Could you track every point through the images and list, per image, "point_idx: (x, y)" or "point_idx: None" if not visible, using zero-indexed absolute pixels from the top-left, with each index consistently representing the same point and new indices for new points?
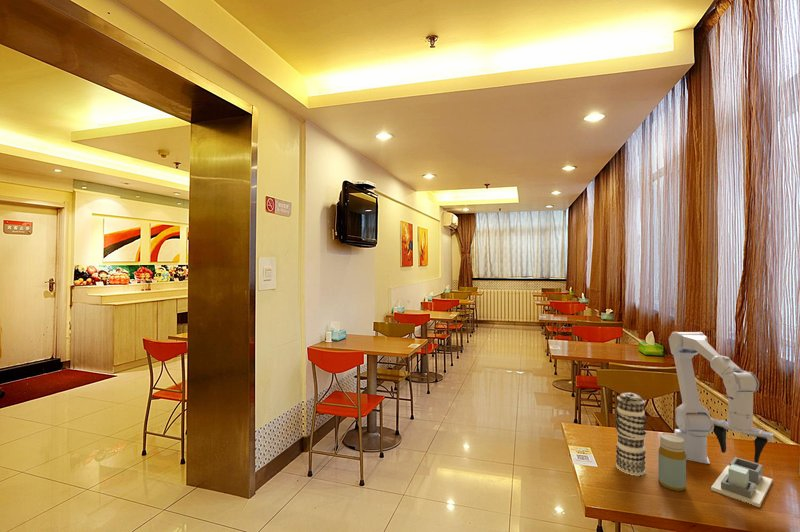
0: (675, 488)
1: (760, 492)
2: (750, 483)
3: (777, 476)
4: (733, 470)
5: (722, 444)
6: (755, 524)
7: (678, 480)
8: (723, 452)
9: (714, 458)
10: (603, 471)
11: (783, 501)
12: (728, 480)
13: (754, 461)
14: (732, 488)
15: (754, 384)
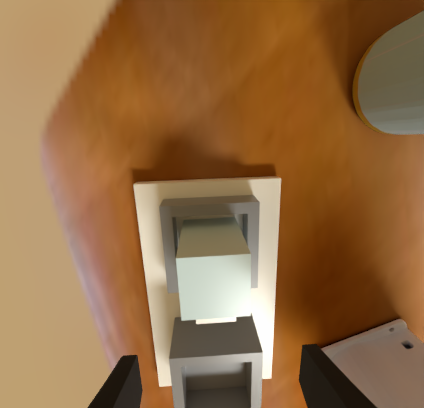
0: (388, 31)
1: (156, 274)
2: None
3: None
4: (229, 254)
5: (351, 404)
6: (106, 27)
7: (411, 21)
8: (308, 346)
9: None
10: None
11: (106, 286)
12: (239, 229)
13: (134, 358)
14: (219, 200)
15: None
